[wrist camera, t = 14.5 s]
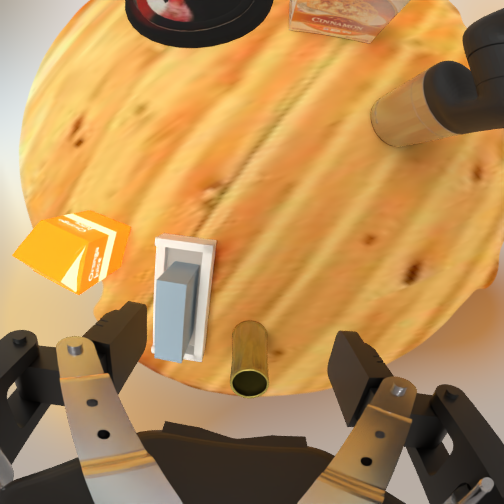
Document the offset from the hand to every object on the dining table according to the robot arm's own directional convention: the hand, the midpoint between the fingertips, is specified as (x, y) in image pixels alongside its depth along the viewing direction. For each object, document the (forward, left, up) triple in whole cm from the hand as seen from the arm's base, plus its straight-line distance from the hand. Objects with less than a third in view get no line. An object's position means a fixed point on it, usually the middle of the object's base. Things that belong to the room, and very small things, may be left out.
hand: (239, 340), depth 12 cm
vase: (-3, +19, -36) cm, 41 cm away
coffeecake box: (-9, -39, -36) cm, 54 cm away
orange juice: (+24, +5, -36) cm, 44 cm away
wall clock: (+16, -43, -37) cm, 59 cm away
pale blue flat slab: (+9, +13, -34) cm, 38 cm away
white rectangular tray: (+9, +13, -36) cm, 39 cm away
